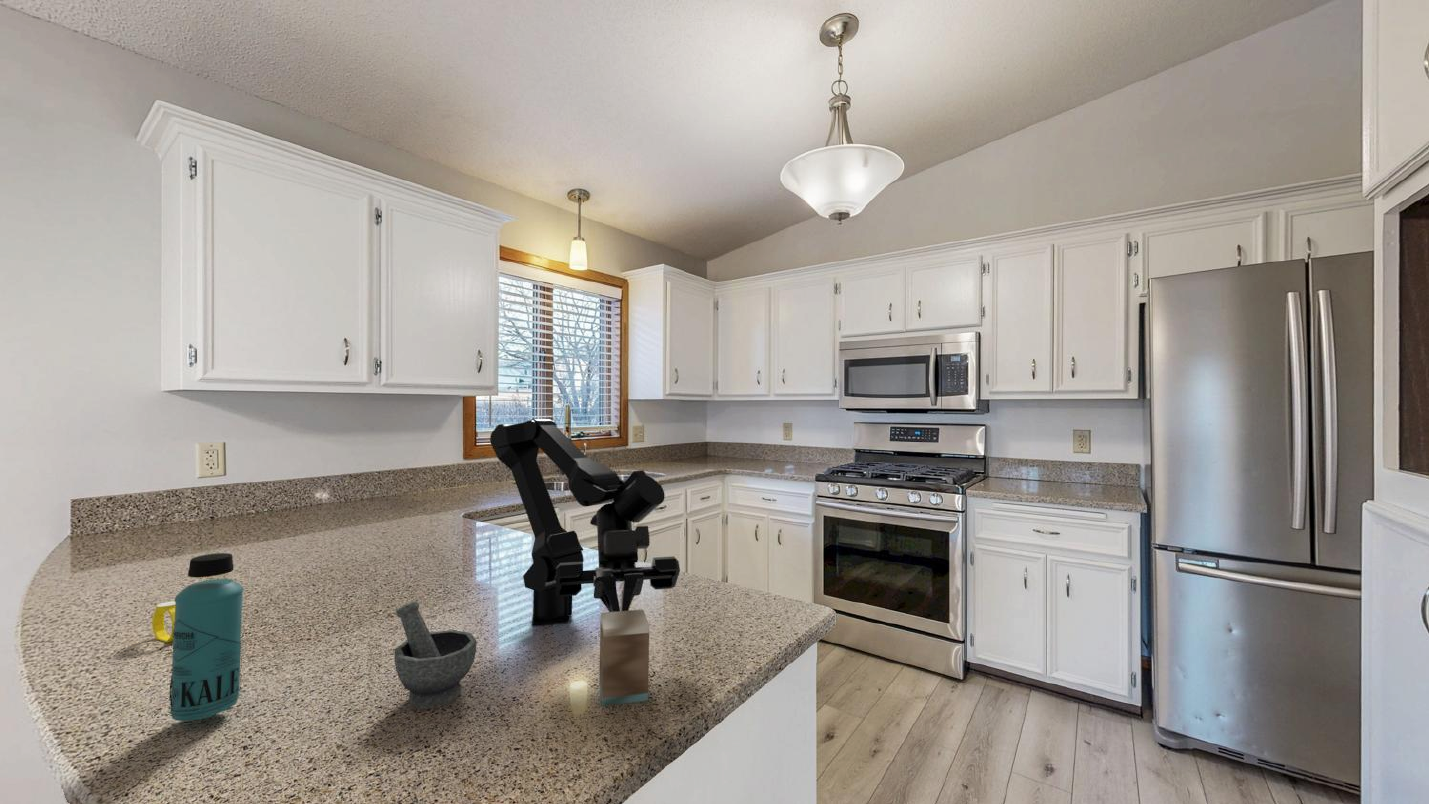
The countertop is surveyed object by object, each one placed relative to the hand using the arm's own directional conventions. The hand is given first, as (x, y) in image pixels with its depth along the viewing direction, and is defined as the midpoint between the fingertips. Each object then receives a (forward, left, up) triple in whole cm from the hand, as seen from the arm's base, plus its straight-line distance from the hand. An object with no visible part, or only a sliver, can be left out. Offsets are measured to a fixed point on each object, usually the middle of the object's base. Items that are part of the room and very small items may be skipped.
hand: (621, 629), depth 81 cm
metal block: (0, -5, -7) cm, 8 cm away
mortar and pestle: (-25, 0, -7) cm, 26 cm away
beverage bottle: (-50, 0, -7) cm, 51 cm away
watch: (-70, +29, -7) cm, 76 cm away
